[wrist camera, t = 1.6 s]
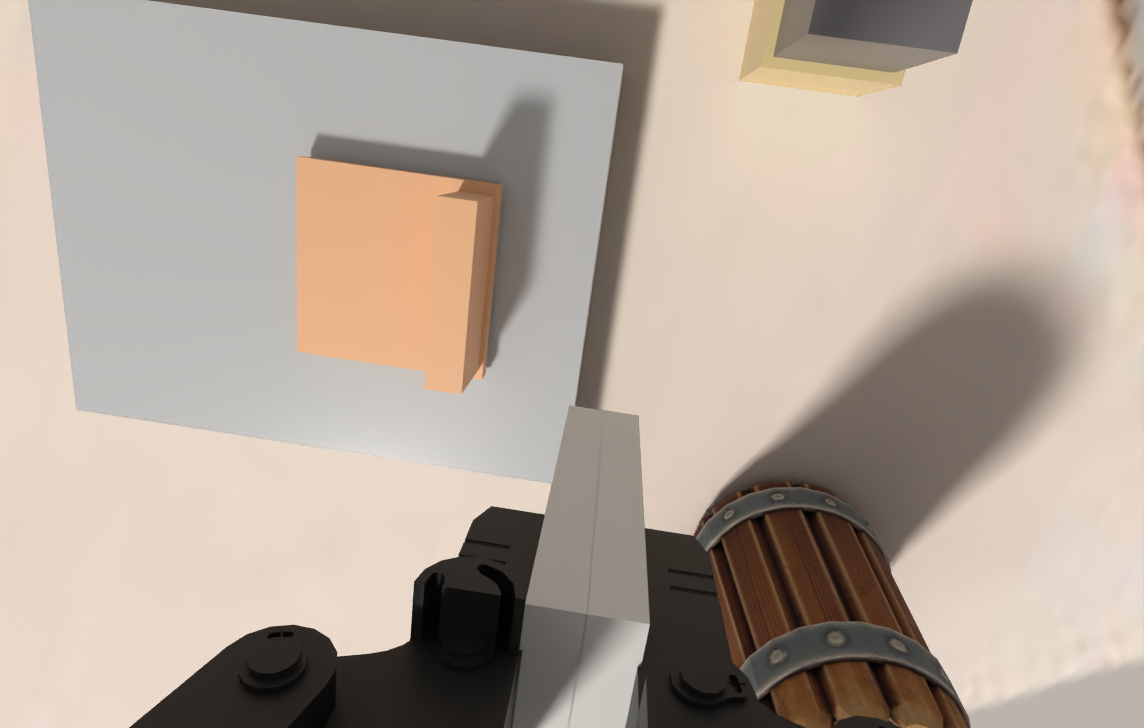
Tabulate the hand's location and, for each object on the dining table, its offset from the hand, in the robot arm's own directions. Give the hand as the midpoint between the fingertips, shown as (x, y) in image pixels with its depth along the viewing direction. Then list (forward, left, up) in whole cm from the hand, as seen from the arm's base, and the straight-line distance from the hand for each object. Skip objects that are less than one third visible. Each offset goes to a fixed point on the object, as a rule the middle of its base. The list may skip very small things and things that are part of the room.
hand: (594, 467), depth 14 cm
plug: (-13, +7, -20) cm, 25 cm away
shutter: (0, -10, -17) cm, 19 cm away
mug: (+16, +10, -20) cm, 28 cm away
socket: (0, -14, -20) cm, 24 cm away
